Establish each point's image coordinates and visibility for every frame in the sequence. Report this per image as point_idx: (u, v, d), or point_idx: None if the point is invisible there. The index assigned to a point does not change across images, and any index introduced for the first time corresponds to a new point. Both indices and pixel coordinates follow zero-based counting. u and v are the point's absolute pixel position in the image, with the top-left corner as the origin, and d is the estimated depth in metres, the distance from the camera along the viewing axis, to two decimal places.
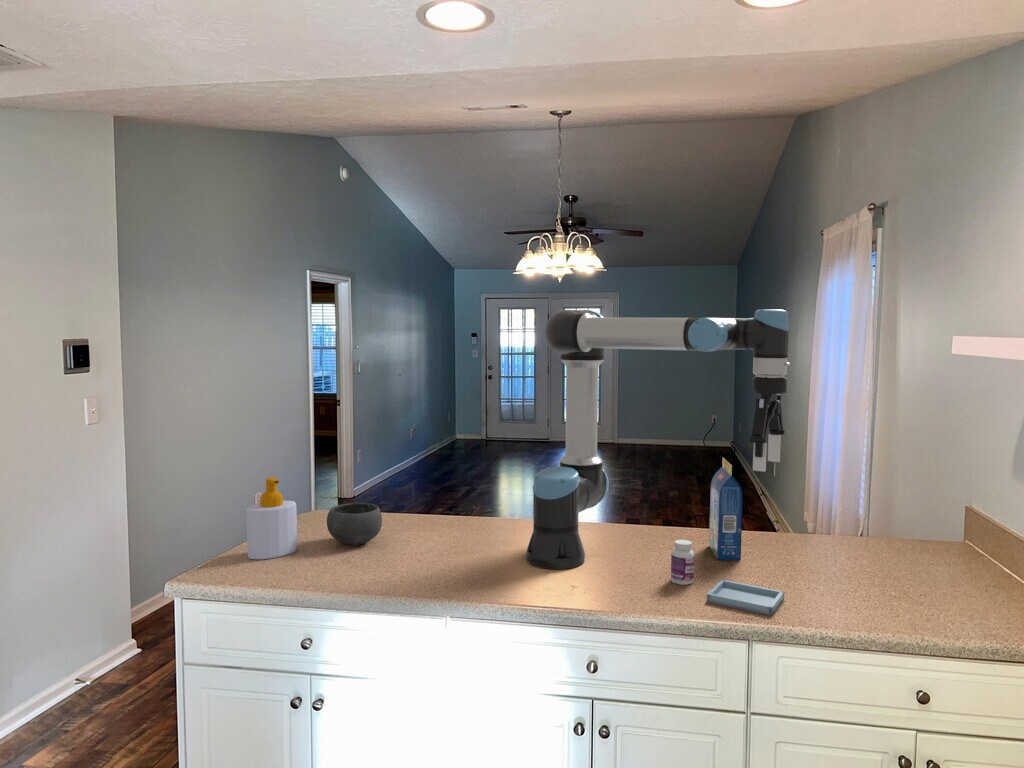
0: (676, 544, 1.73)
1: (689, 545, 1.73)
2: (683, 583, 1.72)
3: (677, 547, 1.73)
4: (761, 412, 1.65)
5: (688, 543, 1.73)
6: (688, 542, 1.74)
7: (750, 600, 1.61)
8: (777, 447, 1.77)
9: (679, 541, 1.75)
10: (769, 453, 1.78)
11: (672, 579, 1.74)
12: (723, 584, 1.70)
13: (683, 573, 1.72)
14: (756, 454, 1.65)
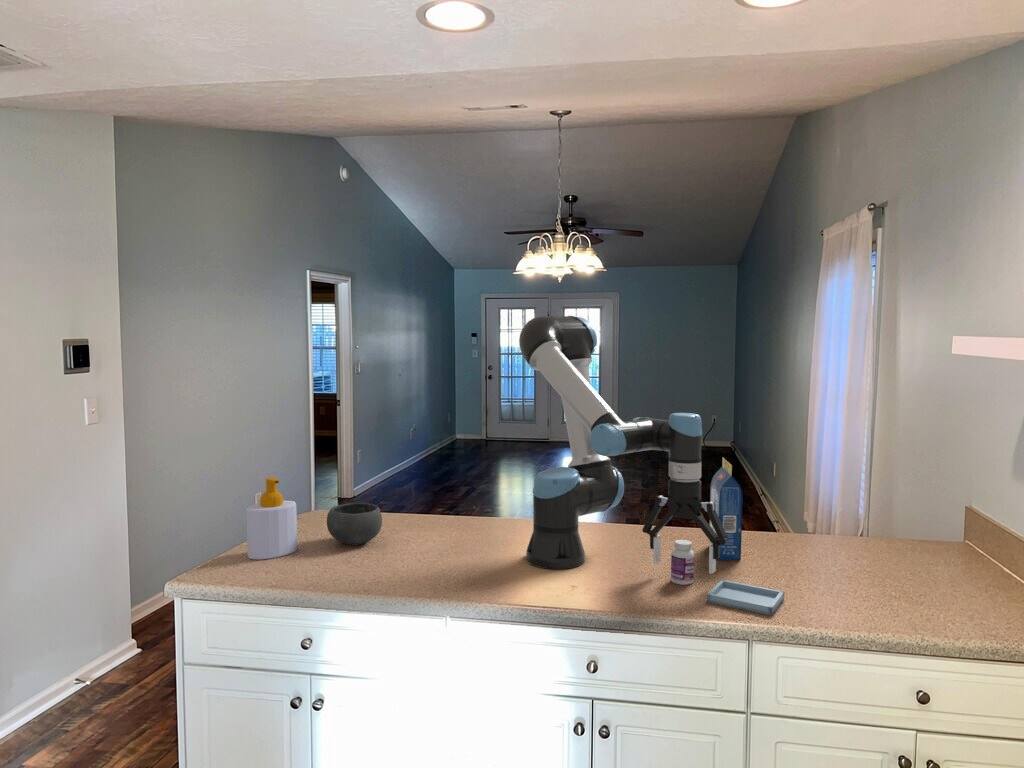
0: (676, 544, 1.73)
1: (689, 545, 1.73)
2: (683, 583, 1.72)
3: (677, 547, 1.73)
4: None
5: (688, 543, 1.73)
6: (688, 542, 1.74)
7: (750, 600, 1.61)
8: None
9: (679, 541, 1.75)
10: None
11: (672, 579, 1.74)
12: (723, 584, 1.70)
13: (683, 573, 1.72)
14: None
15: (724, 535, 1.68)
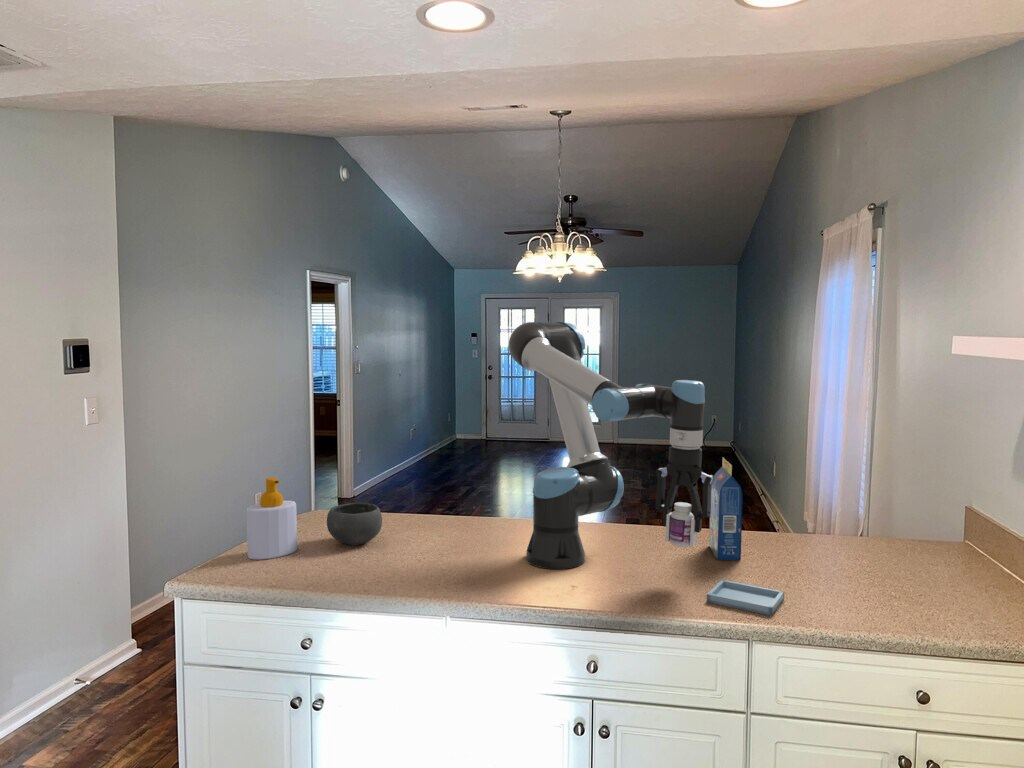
0: (676, 506, 1.73)
1: (689, 507, 1.72)
2: (682, 545, 1.72)
3: (677, 509, 1.73)
4: None
5: (688, 505, 1.72)
6: (688, 504, 1.73)
7: (750, 600, 1.61)
8: None
9: (679, 503, 1.74)
10: None
11: (671, 541, 1.74)
12: (723, 584, 1.70)
13: (682, 535, 1.72)
14: None
15: (708, 510, 1.70)
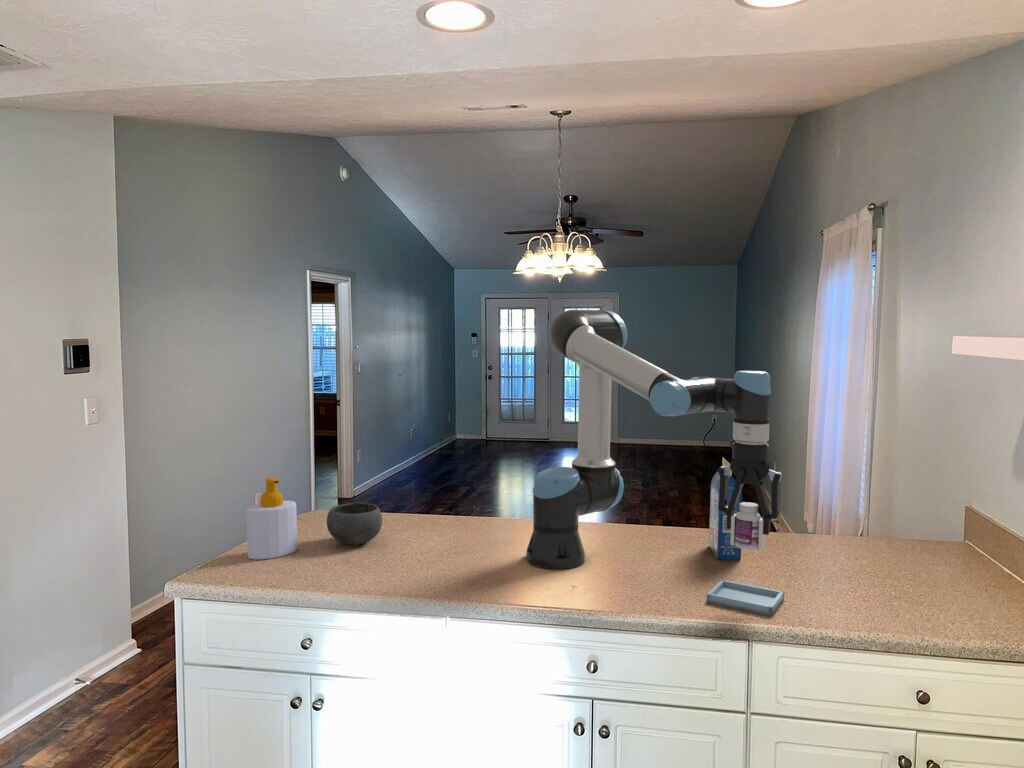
0: (741, 506, 1.60)
1: (756, 507, 1.59)
2: (750, 548, 1.59)
3: (743, 509, 1.60)
4: None
5: (755, 505, 1.60)
6: (754, 504, 1.61)
7: (750, 600, 1.61)
8: None
9: (744, 503, 1.61)
10: None
11: (737, 544, 1.61)
12: (723, 584, 1.70)
13: (750, 537, 1.59)
14: None
15: (778, 510, 1.57)
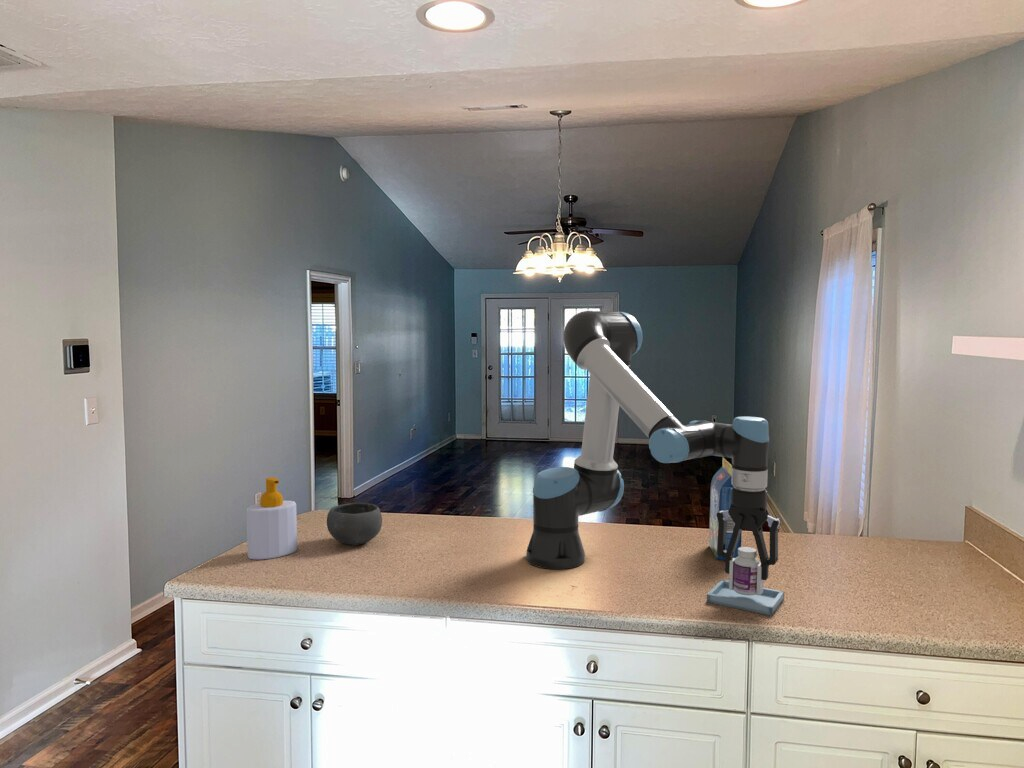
0: (740, 552, 1.61)
1: (754, 553, 1.60)
2: (748, 594, 1.60)
3: (741, 555, 1.61)
4: None
5: (753, 551, 1.61)
6: (753, 549, 1.62)
7: (750, 600, 1.61)
8: None
9: (743, 548, 1.62)
10: None
11: (735, 589, 1.62)
12: (723, 584, 1.70)
13: (748, 583, 1.60)
14: None
15: (776, 556, 1.58)
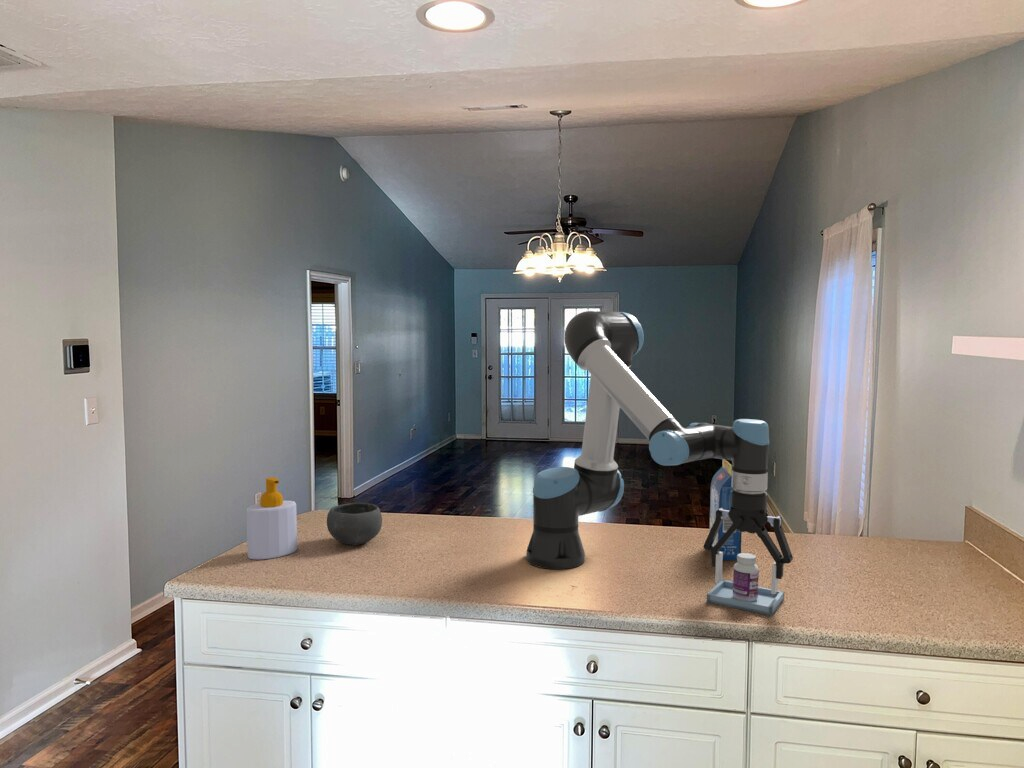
0: (739, 558, 1.61)
1: (753, 559, 1.61)
2: (747, 600, 1.60)
3: (740, 561, 1.61)
4: None
5: (753, 557, 1.61)
6: (752, 556, 1.62)
7: None
8: None
9: (742, 555, 1.63)
10: None
11: (735, 595, 1.62)
12: (723, 584, 1.70)
13: (747, 589, 1.60)
14: None
15: (789, 554, 1.57)
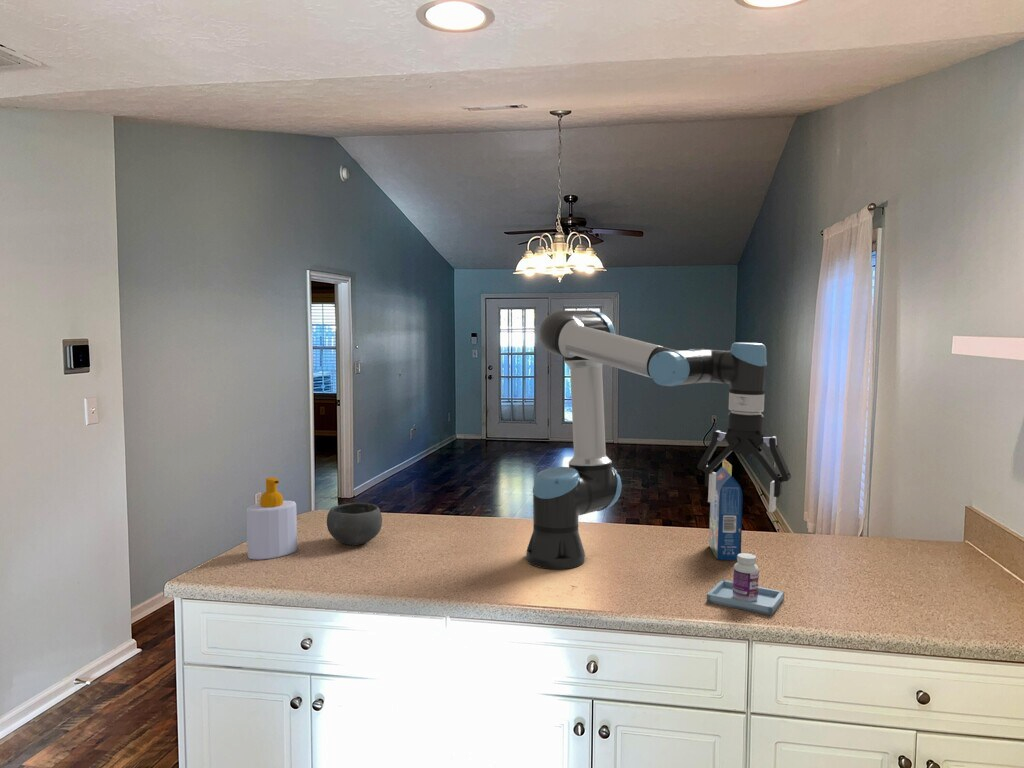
0: (739, 558, 1.61)
1: (754, 559, 1.61)
2: (747, 600, 1.60)
3: (740, 561, 1.61)
4: None
5: (753, 557, 1.61)
6: (752, 556, 1.62)
7: None
8: None
9: (742, 555, 1.62)
10: None
11: (735, 595, 1.62)
12: (723, 584, 1.70)
13: (747, 589, 1.60)
14: None
15: (787, 472, 1.58)
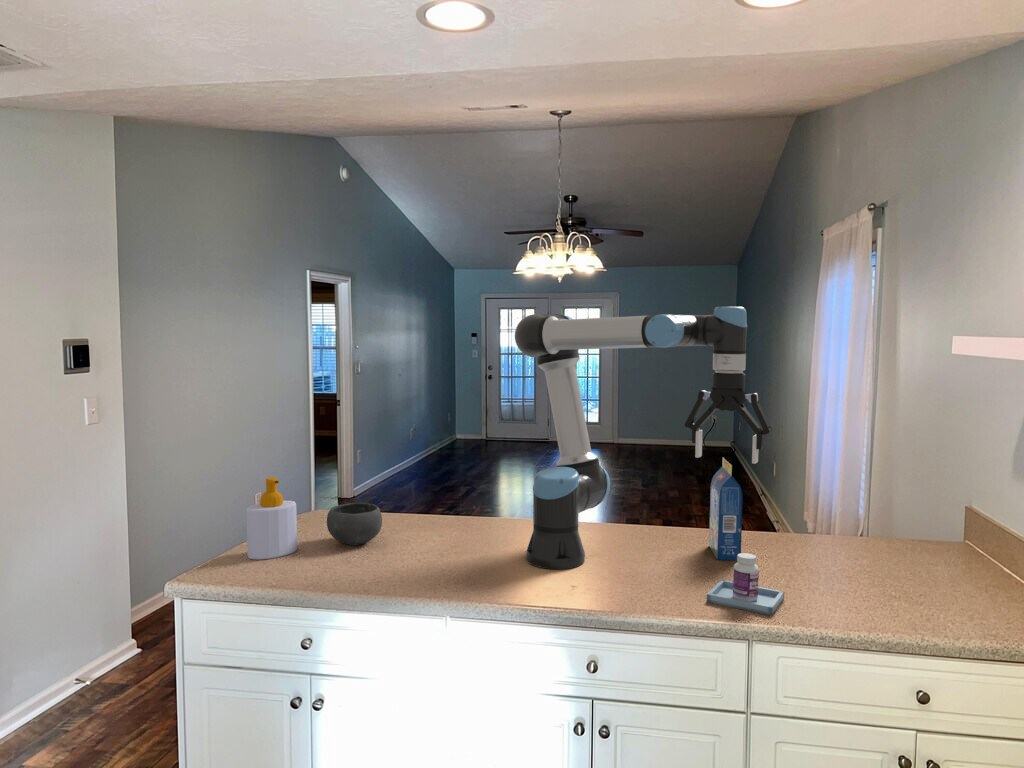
0: (739, 558, 1.61)
1: (754, 559, 1.61)
2: (747, 600, 1.60)
3: (740, 561, 1.61)
4: None
5: (753, 557, 1.61)
6: (752, 556, 1.62)
7: None
8: None
9: (742, 555, 1.63)
10: None
11: (735, 595, 1.62)
12: (723, 584, 1.70)
13: (747, 589, 1.60)
14: None
15: (768, 425, 1.70)
